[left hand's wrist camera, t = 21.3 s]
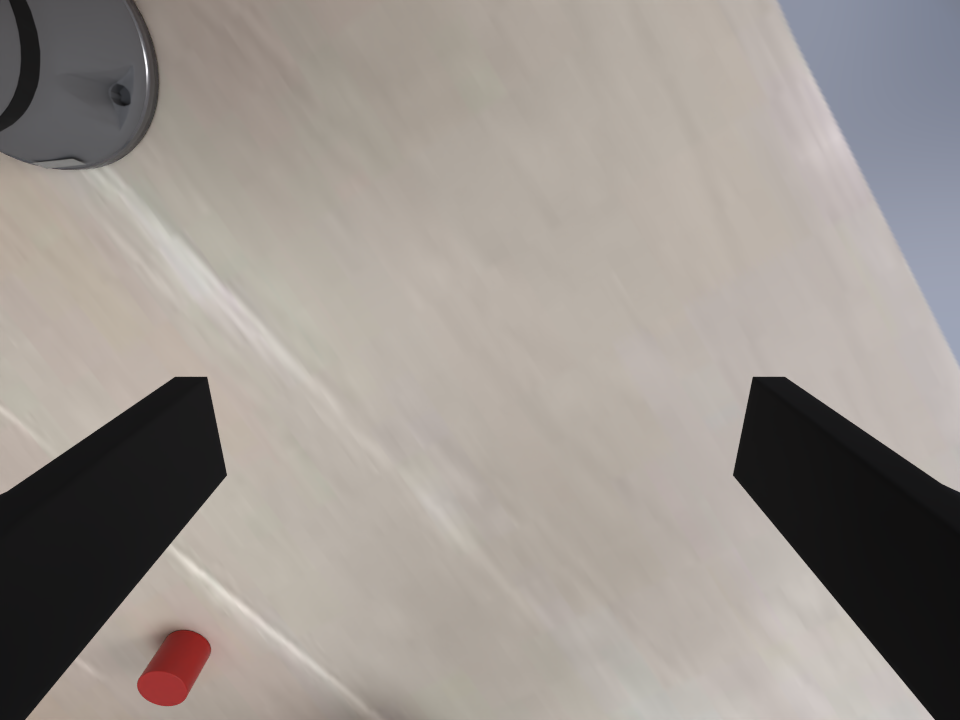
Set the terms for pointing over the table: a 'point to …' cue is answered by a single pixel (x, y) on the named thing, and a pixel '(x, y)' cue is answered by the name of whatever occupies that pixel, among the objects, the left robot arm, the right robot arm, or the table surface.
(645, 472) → the table surface
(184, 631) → the red cylinder
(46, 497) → the left robot arm
